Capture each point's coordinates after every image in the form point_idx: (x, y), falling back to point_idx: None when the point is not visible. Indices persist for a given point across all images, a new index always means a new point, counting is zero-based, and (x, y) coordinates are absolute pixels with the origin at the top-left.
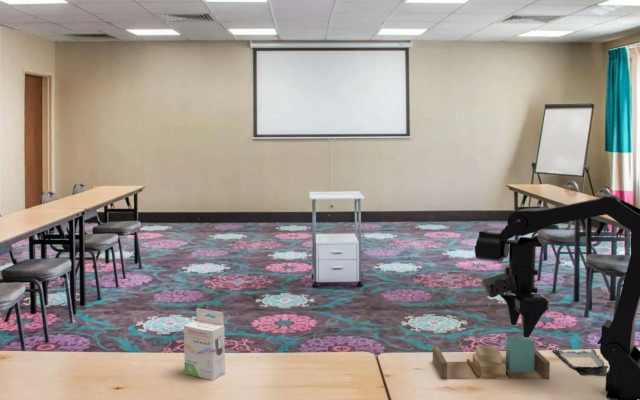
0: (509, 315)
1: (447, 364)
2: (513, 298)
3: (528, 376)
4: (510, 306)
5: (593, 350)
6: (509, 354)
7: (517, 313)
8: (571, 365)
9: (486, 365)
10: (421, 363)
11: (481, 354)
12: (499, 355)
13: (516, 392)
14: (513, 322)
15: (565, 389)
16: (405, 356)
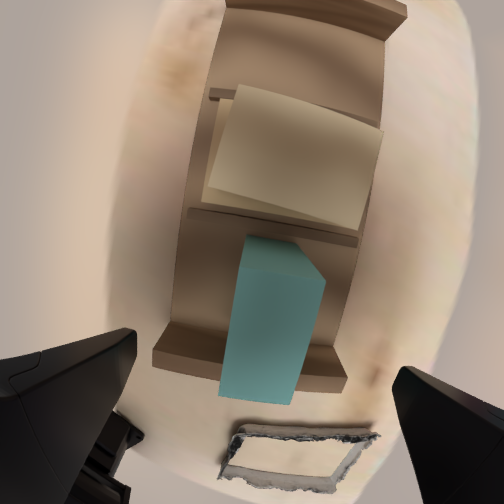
0: (445, 389)
1: (357, 54)
2: (496, 501)
3: (197, 284)
4: (477, 439)
5: (325, 491)
6: (251, 249)
7: (420, 445)
8: (258, 434)
9: (224, 121)
10: (403, 26)
11: (246, 93)
12: (214, 176)
13: (126, 197)
14: (403, 384)
15: (138, 348)
16: (448, 25)
